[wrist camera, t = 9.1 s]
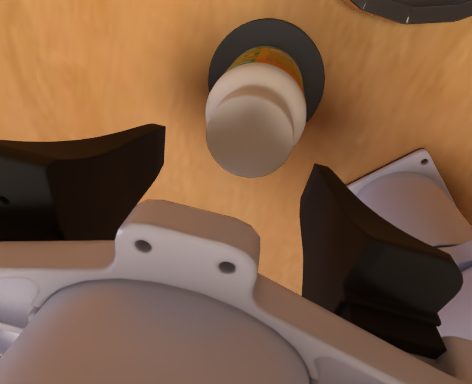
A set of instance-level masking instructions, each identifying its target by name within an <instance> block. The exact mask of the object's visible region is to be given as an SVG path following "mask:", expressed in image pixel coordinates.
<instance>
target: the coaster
mask: <svg viewBox="0 0 472 384" xmlns="http://www.w3.org/2000/svg"><path fill="white" fill-rule="evenodd" d="M259 46H271V47H276V48H278V49H281V50H283V51H284V52H286V53H287V54H289V55H290V56H291V57H292V58H293V60H294V61H295V62H296V64H297V66H298V68H299V70H300V72H301V76H302V82H303V89H304V96H305V102H306V122H307V121H308V120H309V119H310V118H311V117H312V115H313V114H314V112H315V111H316V109H317V107H318V105H319V103H320V100H321V97H322V94H323V90H324V81H325V76H324V67H323V62H322V59H321V56H320V53H319V51H318V49H317V47H316V46H315V44H314V43H313V41H312V40H311V39H310V37H309V36H308V35H307V34H306V33H305V32H303V31H302V30H301V29H300V28H298V27H296V26H295V25H293V24H291V23H288V22H286V21H283V20H278V19H258V20H254V21H250V22H248V23H246V24H243V25H241V26H240V27H238V28H236V29H235V30H233V31H232V32H231V33H230V34H229V35H228V36H227V37H226V38H225V39H224V40H223V41H222V42H221V44H220V45H219V47H218V48H217V50H216V52H215V54H214V56H213V59H212V61H211V65H210V69H209V77H208V82H209V92H211V90H212V88H213V86H214V85H215V83H216V82H217V81H218V79H219V78H220V77H221V76H222V75H223V74H224V73H225V72H226V70H227V69H228V68H229V67H230V66H231V65H232V64H233V63H234V61H235V60H236V59H237V58H238V57H239V56H240V55H242V54H243V53H244V52H246V51H248V50H250V49H252V48H255V47H259Z"/></svg>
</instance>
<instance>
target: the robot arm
mask: <svg viewBox="0 0 472 384" xmlns="http://www.w3.org/2000/svg"><path fill="white" fill-rule="evenodd" d="M165 129H166V127H165V126H161V125H157V124H147V125H143V126H139V127H136V128H132V129H129V130H125V131H122V132H118V133H113V134H109V135H105V136H101V137H95V138H89V139H82V140H72V141H58V142H23V141H8V140H0V356H2V357H1V359H0V384H472V227H471V225H470V224H469V223H468V222H467V220H466V219H465V218H464V217H463V215H462V214H461V213H460V212H459V210H458V208H457V206H456V204H455V202H454V200H453V199H452V197H451V195H450V193H449V191H448V189H447V187H446V185H445V183H444V181H443V179H442V178H441V176H440V174H439V172H438V170H437V168H436V166H435V164H434V162H433V160H432V158H431V156H430V155H429V153H428V152H427V151H426V150H424V149H420V150H417V151H415V152H413V153H411V154H409V155H407V156H405V157H403V158H401V159H399V160H397V161H395V162H393V163H391V164H389V165H387V166H385V167H383V168H381V169H379V170H377V171H375V172H373V173H371V174H369V175H367V176H365V177H363V178H361V179H359V180H357V181H355V182H353V183H351V184H349V185H347V186H346V185H345V184H344V183H343V182H342V181H341V180H340V179H339V177H338V176H337V175H336V174H335V173H334V172H333V171H332V170H331V169H330V168H329V167H327V166H323V165H319V164H314V167H313V169H312V172H311V174H310V177H309V179H308V182H307V184H306V186H305V189H304V191H303V194H302V196H301V201H300V226H301V236H302V246H303V284H302V296H300V295H298V294H296V293H295V292H293V291H291V290H289V289H287V288H285V287H283V286H281V285H280V284H278V283H276V282H274V281H272V280H270V279H268V278H267V277H265V276H263V275H261V274H259V273H258V265H259V256H260V237H259V235H258V234H257V233H256V231H255V230H254V229H253V227H252V226H251V225H249V224H247V223H245V222H243V221H241V220H239V219H237V218H234V217H230V216H226V215H222V214H218V213H214V212H210V211H206V210H202V209H198V208H194V207H190V206H186V205H182V204H178V203H174V202H170V201H166V200H151V199H147V200H145V201H143V202H142V203H140V204H138V205H137V203H138V202H139V201H140V199H141V198H142V197H143V195H144V194H145V193H146V191H147V190H148V189H149V187H150V186H151V185H152V183H153V182H154V181H155V179H156V178H157V176H158V174H159V172H160V170H161V168H162V166H163V164H164V149H165ZM423 159H426V161H425V162H421V161H422V160H423ZM133 208H134V209H133Z"/></svg>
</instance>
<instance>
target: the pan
mask: <svg viewBox="0 0 472 384" xmlns="http://www.w3.org/2000/svg"><path fill="white" fill-rule="evenodd" d="M342 1H343V2H344V3H345V4H347V5H348V6H349V7H350V8H352V9H353V10H356V11H359V12H362V13H366V14H369V15H372V16H375V17H378V18H381V19H384V20H388V21H392V22H396V23H400V24H423V23H442V22H454V21H459V20H462V19H465V18H467V17H470V16H472V0H342Z"/></svg>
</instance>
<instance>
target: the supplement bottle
mask: <svg viewBox="0 0 472 384" xmlns="http://www.w3.org/2000/svg"><path fill="white" fill-rule="evenodd" d="M205 117H206V124H207V129H206V140H207V145H208V148H209V151H210V153H211V155H212V156H213V158H214V159H215V161H216V162H217V163H218V164H219V165H220V166H221V167H222V168H224V169H225V170H227V171H228V172H230V173H232V174H235V175H238V176H242V177H248V178H255V177H261V176H265V175H268V174H270V173H272V172H274V171H276V170H277V169H278V168H280V167H281V166H282V165H283V164H284V162H285V161H286V160H287V158H288V157H289V155H290V153H291V150H292V148H293V147H294V146H295V145H296V144H297V142H298V141H299V139H300V137H301V135H302V133H303V130H304V127H305V123H306V102H305V96H304V89H303V82H302V76H301V72H300V70H299V68H298V66H297V64H296V62H295V61H294V60H293V58H292V57H291V56H290V55H289V54H287V53H286V52H284V51H283V50H281V49H278V48H276V47H271V46H259V47H255V48H252V49H250V50H248V51H246V52H244V53H243V54H242V55H240V56H239V57H238V58H237V59H236V60H235V61H234V63H233V64H232V65H231V66H230V67H229V68H228V69H227V70H226V72H225V73H224V74H223V75H222V76H221V77H220V78H219V79H218V81H217V82H216V83H215V85H214V86H213V88H212V90H211V92H210V94H209V96H208V99H207V103H206V111H205Z"/></svg>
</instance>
